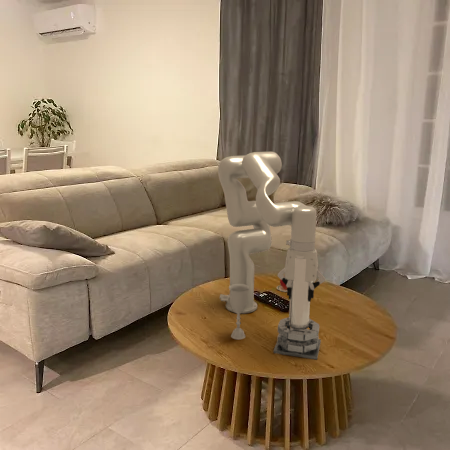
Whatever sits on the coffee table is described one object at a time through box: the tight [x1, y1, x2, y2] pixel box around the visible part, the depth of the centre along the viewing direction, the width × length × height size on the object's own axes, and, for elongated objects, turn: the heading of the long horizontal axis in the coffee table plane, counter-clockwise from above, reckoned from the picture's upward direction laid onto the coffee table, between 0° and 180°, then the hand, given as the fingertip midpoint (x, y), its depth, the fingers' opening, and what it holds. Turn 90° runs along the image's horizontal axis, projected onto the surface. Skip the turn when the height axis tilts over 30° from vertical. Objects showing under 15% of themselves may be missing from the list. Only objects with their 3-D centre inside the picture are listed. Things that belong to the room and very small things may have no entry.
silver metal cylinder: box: [288, 255, 311, 330], centre depth 151 cm, size 6×6×25 cm
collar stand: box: [273, 316, 322, 360], centre depth 155 cm, size 14×13×8 cm
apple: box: [276, 275, 287, 293], centre depth 206 cm, size 8×8×6 cm
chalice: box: [228, 284, 249, 340], centre depth 162 cm, size 7×7×18 cm
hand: (300, 298), depth 152 cm, fingers closed on silver metal cylinder, 5 cm apart
